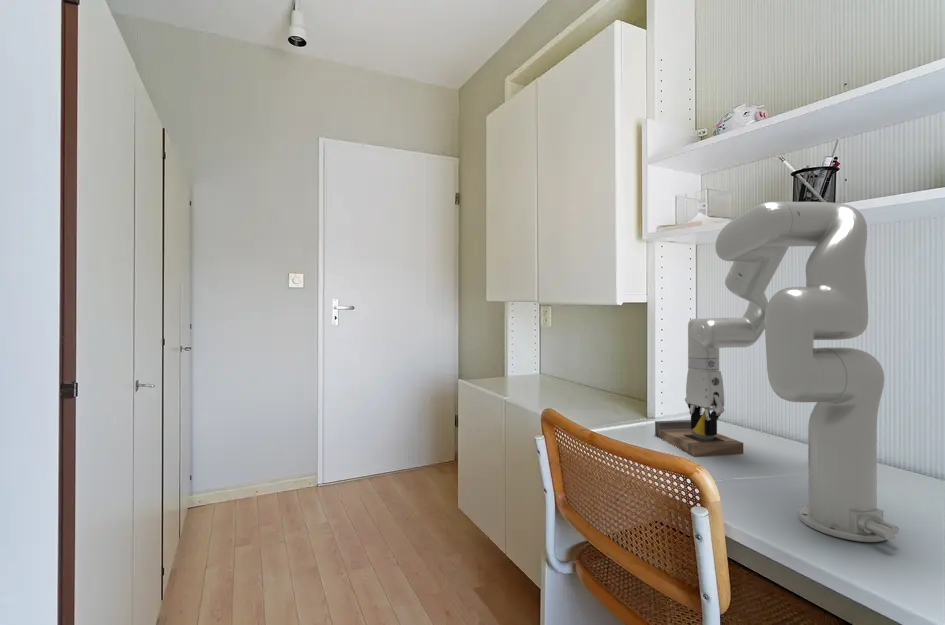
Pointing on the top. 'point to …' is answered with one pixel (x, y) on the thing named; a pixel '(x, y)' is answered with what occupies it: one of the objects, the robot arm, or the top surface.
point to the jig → (695, 440)
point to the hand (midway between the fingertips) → (703, 431)
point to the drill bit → (701, 429)
